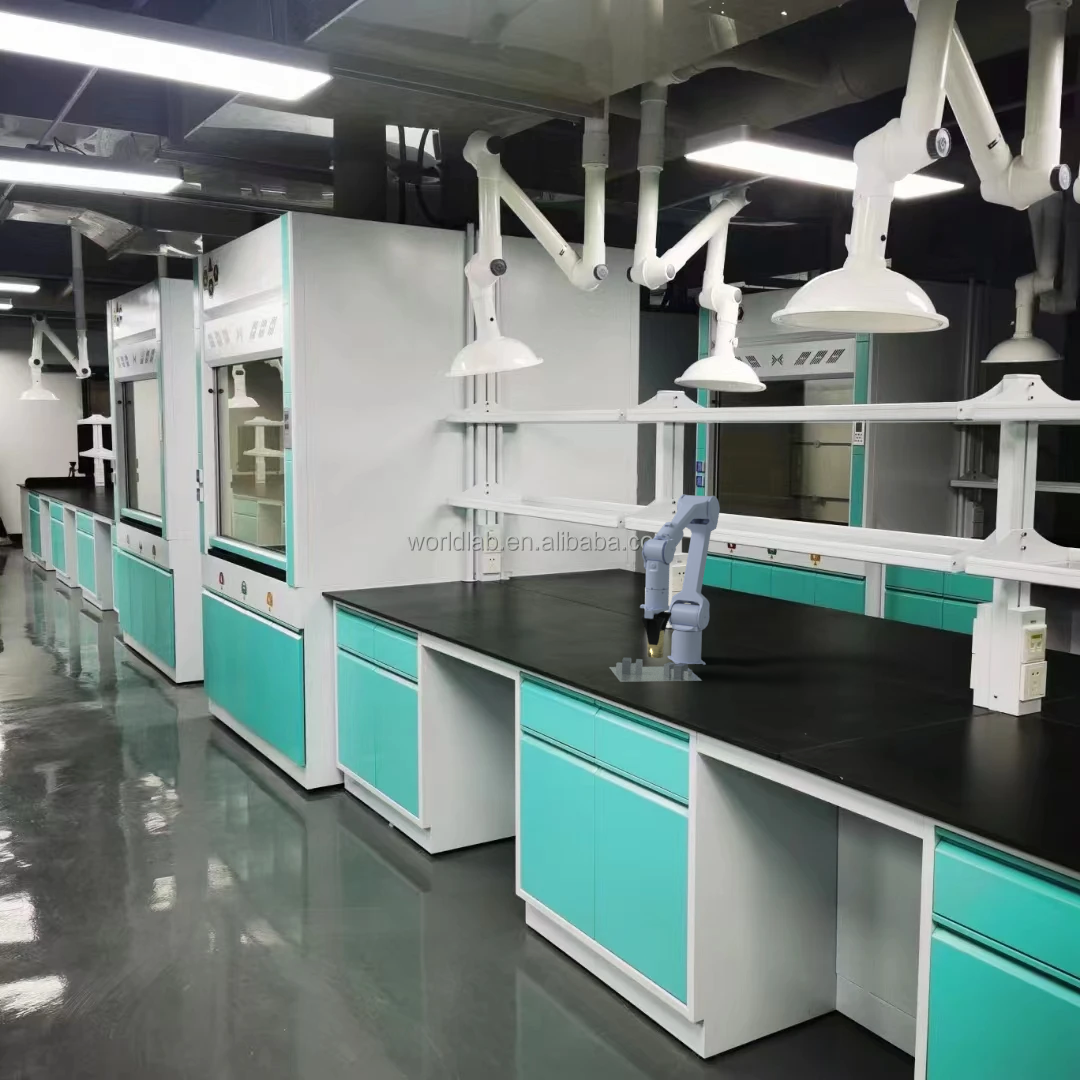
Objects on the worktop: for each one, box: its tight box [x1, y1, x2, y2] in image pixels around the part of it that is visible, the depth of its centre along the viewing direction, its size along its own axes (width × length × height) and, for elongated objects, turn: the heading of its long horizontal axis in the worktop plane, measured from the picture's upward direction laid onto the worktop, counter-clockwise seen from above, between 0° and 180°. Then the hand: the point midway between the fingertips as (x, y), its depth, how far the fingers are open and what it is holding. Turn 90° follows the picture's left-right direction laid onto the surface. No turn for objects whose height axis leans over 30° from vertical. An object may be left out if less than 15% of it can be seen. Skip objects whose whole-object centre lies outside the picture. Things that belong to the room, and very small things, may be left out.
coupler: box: [646, 629, 665, 659], centre depth 251 cm, size 4×4×7 cm
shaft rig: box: [608, 657, 703, 683], centre depth 252 cm, size 15×20×4 cm
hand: (655, 642), depth 251 cm, fingers closed on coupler, 4 cm apart
